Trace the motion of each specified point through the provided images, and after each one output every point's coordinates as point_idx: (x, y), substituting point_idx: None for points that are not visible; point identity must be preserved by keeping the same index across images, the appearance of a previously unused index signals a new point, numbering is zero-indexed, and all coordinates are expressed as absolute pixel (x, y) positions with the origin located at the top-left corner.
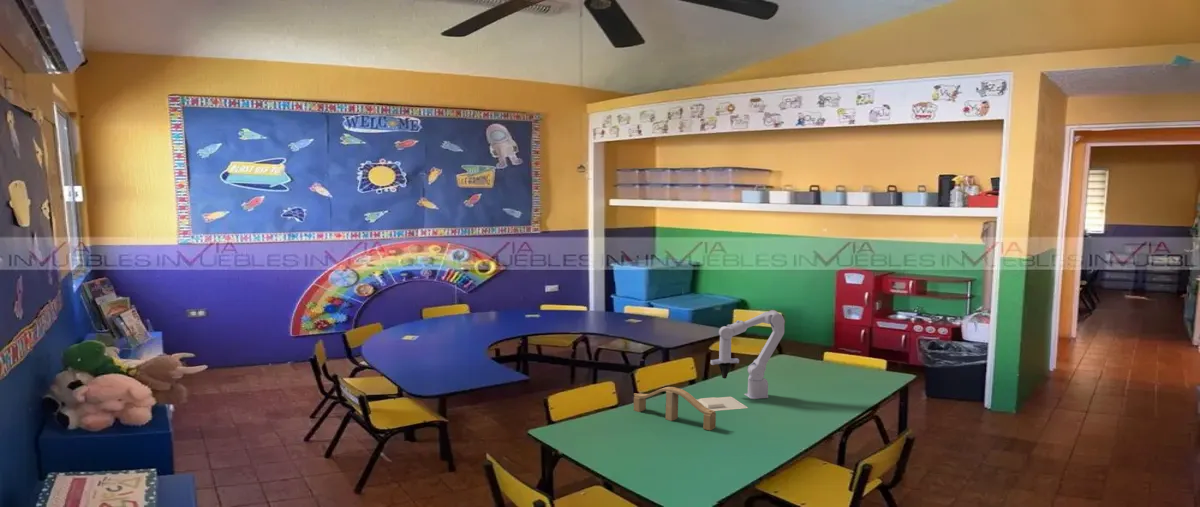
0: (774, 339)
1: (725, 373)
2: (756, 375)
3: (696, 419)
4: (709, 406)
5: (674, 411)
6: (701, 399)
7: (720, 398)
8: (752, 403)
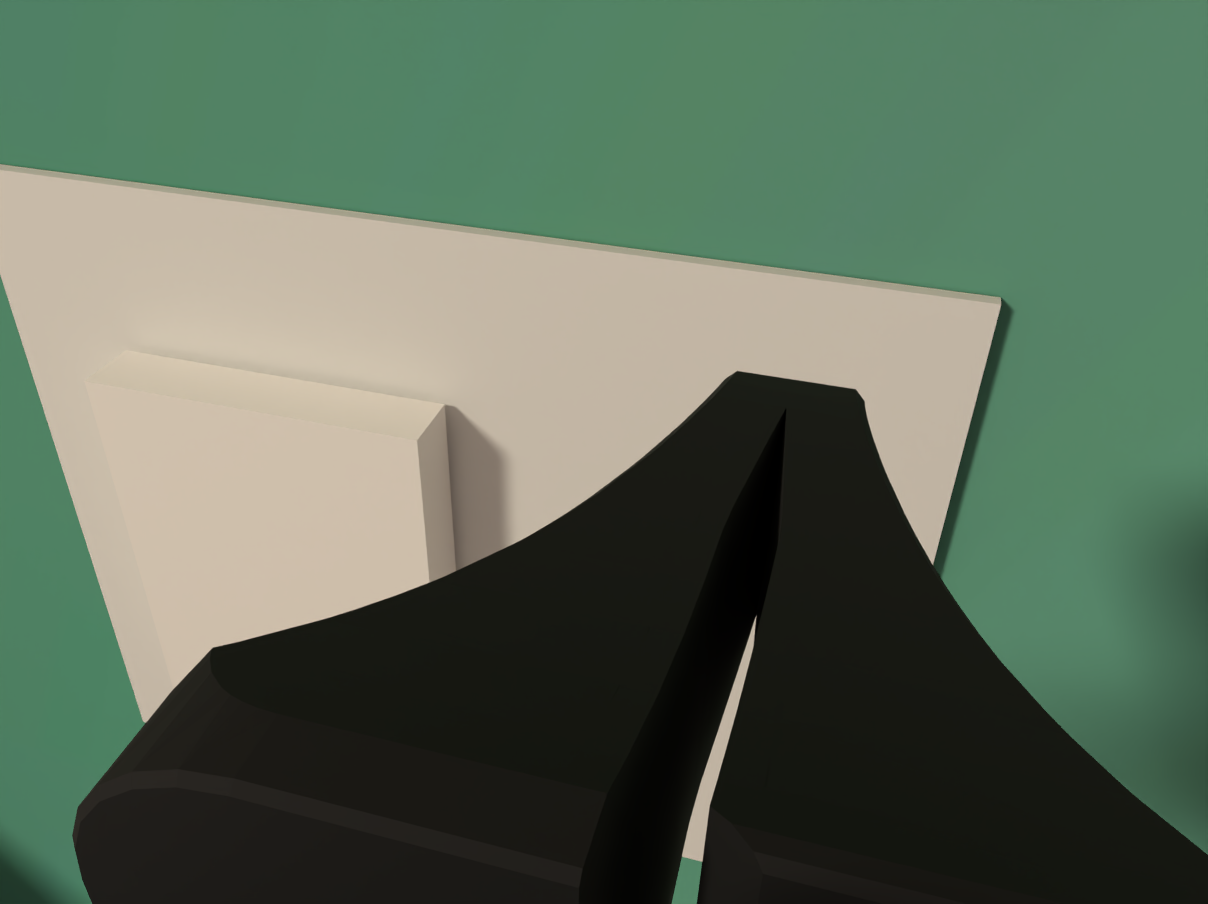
0: None
1: (705, 747)
2: None
3: (9, 811)
4: None
5: None
6: (114, 445)
7: (643, 330)
8: (1134, 780)
